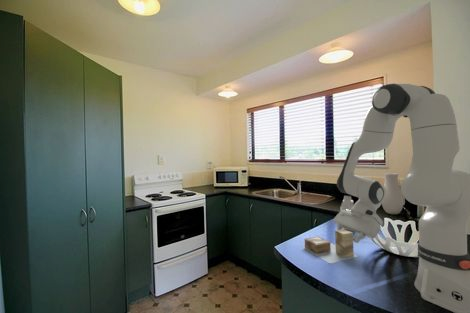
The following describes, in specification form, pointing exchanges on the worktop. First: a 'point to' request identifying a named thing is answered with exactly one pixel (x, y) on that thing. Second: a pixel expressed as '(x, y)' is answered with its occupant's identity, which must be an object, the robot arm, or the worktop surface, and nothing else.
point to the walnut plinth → (317, 245)
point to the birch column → (344, 243)
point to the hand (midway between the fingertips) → (346, 237)
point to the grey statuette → (347, 204)
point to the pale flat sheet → (331, 255)
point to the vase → (392, 194)
